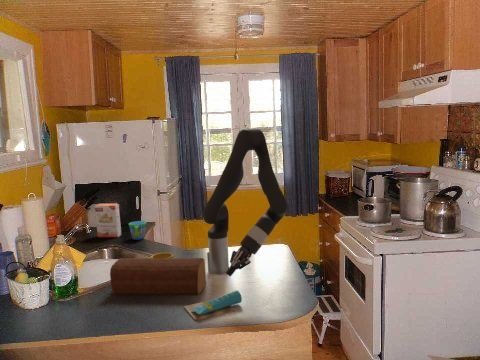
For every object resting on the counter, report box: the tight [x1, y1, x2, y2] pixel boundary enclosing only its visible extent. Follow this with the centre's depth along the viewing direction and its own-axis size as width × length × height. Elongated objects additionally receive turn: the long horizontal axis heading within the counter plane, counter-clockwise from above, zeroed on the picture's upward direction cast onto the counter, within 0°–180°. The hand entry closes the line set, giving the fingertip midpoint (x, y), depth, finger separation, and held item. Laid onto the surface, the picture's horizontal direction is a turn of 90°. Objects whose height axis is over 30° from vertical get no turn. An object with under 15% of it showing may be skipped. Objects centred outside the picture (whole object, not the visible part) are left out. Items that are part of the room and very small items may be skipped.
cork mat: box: [183, 298, 235, 321], centre depth 175 cm, size 16×13×1 cm
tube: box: [191, 290, 242, 314], centre depth 174 cm, size 7×5×19 cm
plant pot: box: [150, 252, 174, 259], centre depth 215 cm, size 10×10×10 cm
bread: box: [109, 257, 207, 296], centre depth 198 cm, size 16×39×13 cm, turn 82°
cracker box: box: [94, 203, 122, 238], centre depth 291 cm, size 14×6×21 cm, turn 81°
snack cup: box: [128, 220, 147, 241], centre depth 283 cm, size 16×10×10 cm
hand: (227, 274), depth 178 cm, fingers closed
